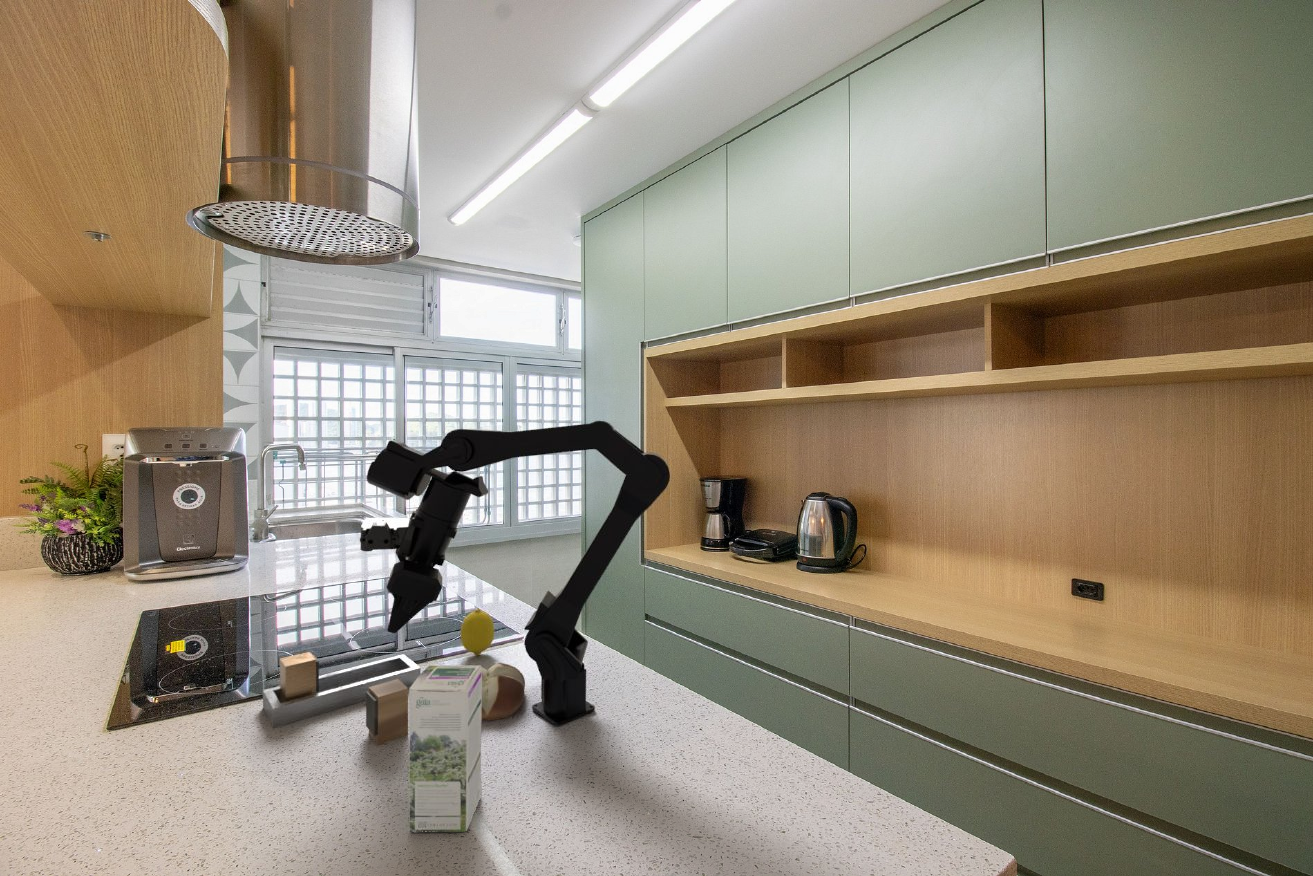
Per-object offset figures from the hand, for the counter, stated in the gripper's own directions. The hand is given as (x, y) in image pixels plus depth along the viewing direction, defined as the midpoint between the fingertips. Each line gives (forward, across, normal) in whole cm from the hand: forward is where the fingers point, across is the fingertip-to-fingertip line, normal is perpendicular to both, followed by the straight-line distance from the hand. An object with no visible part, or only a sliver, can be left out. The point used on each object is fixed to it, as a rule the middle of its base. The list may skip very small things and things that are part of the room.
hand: (394, 616), depth 80 cm
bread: (+8, +4, +16) cm, 18 cm away
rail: (+16, -5, -1) cm, 16 cm away
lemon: (+10, -14, +17) cm, 24 cm away
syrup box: (+6, +27, +10) cm, 29 cm away
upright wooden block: (+11, +8, +4) cm, 15 cm away
